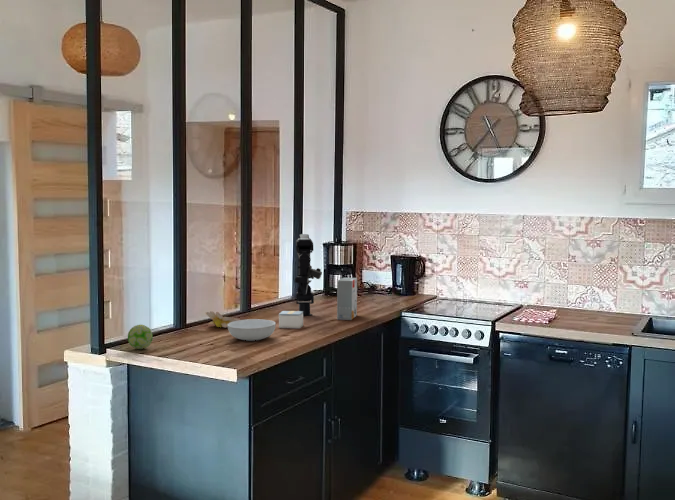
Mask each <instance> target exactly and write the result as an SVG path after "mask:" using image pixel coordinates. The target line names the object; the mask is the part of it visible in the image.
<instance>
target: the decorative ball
mask: <svg viewBox="0 0 675 500" xmlns="http://www.w3.org/2000/svg"><path fill="white" fill-rule="evenodd" d="M127 341H128V344H129V345H130V346H131V347H133V348H134V349H136V350H144V349H147V348H148V347H150V345H151V343H152V342H153V332H152V329H151V328H150V327H148V326H147V325H145V324H137V325H133V327H131V328H130V329H129V331H128V333H127ZM143 348H144V349H143Z"/></svg>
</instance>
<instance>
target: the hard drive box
mask: <svg viewBox="0 0 675 500" xmlns="http://www.w3.org/2000/svg"><path fill="white" fill-rule="evenodd" d="M357 283H358V278H357V277H342V278H340V279H338V280H337V286H336V287H337V294H336V299H337V300H336V320H342V321H352V320H353V319H355V317H357V315H358V314H357V313H358V312H357V311H358V309H357V308H358V303H357V302H358V301H357V300H358V284H357Z"/></svg>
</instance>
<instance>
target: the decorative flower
mask: <svg viewBox="0 0 675 500" xmlns="http://www.w3.org/2000/svg"><path fill="white" fill-rule="evenodd" d="M205 315H206V316H207V317H208V318H209V319H210V320H212V321H210V322H209V323H208V325H213V326H215V325H216V326H215V327H217V328H219V327H220V328H228V326H227V325H228V323H230V322H233V321H238V320H240V319H239V318H234V317H231V316H230V317H229V316H223V315H222V314H221V313H220V312H218V311H216V312H215V311H207V312H205Z"/></svg>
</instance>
